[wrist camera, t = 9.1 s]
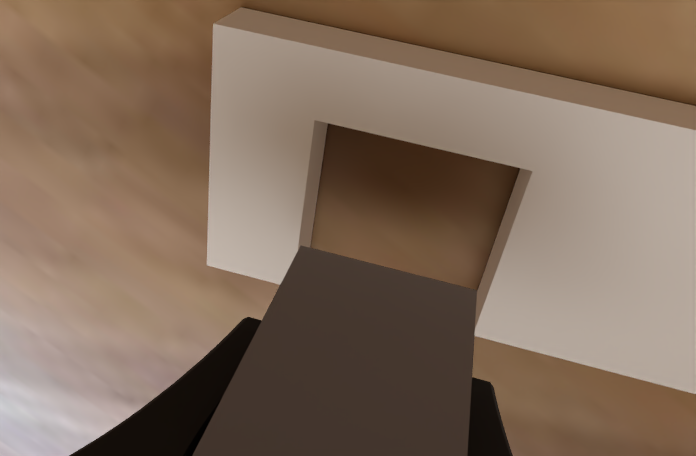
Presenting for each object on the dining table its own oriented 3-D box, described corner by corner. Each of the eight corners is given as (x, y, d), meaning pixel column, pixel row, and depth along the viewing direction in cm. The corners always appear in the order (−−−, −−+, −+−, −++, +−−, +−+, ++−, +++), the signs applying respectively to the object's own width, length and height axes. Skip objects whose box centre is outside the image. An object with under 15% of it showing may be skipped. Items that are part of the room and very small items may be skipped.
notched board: (900, 151, 16) (948, 185, 14) (742, 365, 20) (764, 412, 18) (240, 7, 17) (213, 23, 16) (229, 233, 22) (206, 265, 20)
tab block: (476, 290, 13) (461, 559, 8) (435, 410, 15) (402, 680, 10) (300, 245, 13) (182, 475, 8) (284, 369, 16) (183, 609, 11)
